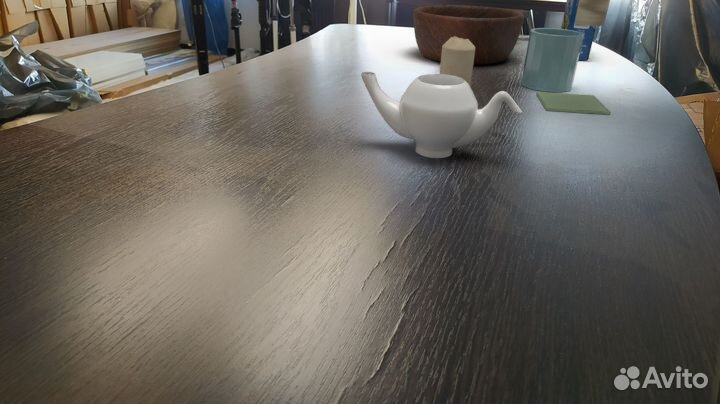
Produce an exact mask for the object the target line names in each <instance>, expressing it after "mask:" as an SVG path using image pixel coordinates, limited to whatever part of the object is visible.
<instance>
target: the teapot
mask: <svg viewBox="0 0 720 404" xmlns="http://www.w3.org/2000/svg"><path fill="white" fill-rule="evenodd" d="M360 75H361V79H362V82H363V84H364V86H365V88H366V90H367V92H368V95H369V96H370V98H371V100H372V102H373V104H374V106H375V108H376V110H377V112H378V113H379V115H380V116H381V118H382V119H383V121H385V123H386V124H387V125H388V126H389V127H390V129H391V130H392V131H394V132H395V133H396V134H397V135H398V136H400V137H402V138H405V139H409V140H413V141H414V143H415V152H416V153H417V154H418V155H420V156H422V157H425V158H430V159H445V158H448V157H451V155H453V150H454V149H457V148H463V147H465V146H468V145H470V144H472V143H474V142H476V141H478V140H480V138H482V137H483V136H484V135H485V134H486V133H487V132H488V131H489V130H490V129H491V128H492V126H493V125H494V124H495V122H496V121H497V119H498V117H499V114H500V111H501V107H502V104H503V102H504V103H506V105H507V107H508V108H509V109H510V110H511V112H513V113H518V114H522V113H523V111H522V110H521V108H520V107H519V105H518V104H517V103H516V101H515V100H514V99H513V97H512V96H511V95H510V94H509V93H508V92H507V91H505V90H499V91H498V92H496V93H495V94H494V95H493V96H492V97H491V99H490V100H489V101H488V102H487V104H486V105H485V106H483V107H482V108H479V103H478V100H477V98H476V96H475V94H474V91H473V89H472V86H471V87H470V85H469V84H468V83H467V82H466V81H465V80H464V79H462V78H460V77H457V76H453V75H446V74H440V73H427V74H422V75H419V76H417V77H416V78H414V79H413V80H412V81H411V82H410V83H409V85H408V86H407V88H406V89H405V91H404V92H403V93H402V95H401V97H400V98H399V100H396V99H394V98H392V97H391V96H389V95H388V94H387V93H386V92H385V91H384V90H383V89H382V88H381V86H380V84H379V81H378V78H377V75H376V72H373V71H363V72H361V74H360Z"/></svg>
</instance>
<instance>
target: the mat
mask: <svg viewBox="0 0 720 404" xmlns="http://www.w3.org/2000/svg"><path fill="white" fill-rule="evenodd" d="M535 95H536V97H537V98H538V99H539V101H540V103H541V105H542V106H543V107H544V109H545V111H548V112H560V113H561V112H562V113H578V114H590V115H591V114H592V115H593V114H594V115H608V116H609V115H611V110H609V109H608V107H606V106H605V105H604V104H603V103H602V101H600V99H598V98H597V97H596V96H595V95H594V94H578V93H564V92H545V91H536V94H535Z"/></svg>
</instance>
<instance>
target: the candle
mask: <svg viewBox="0 0 720 404" xmlns="http://www.w3.org/2000/svg"><path fill="white" fill-rule="evenodd" d="M474 55H475V46H474V45H473V44H472V43H471V42H470V41H469V39H463V38H458V37H456V36H454V37H451V38H450V39H449V40H448V41H447V42H446V43H445V44H444V45H443V46H442V55H441V61H440V65H439V74H446V75H453V76H457V77H460V78H462V79H464V80H465V81H466V82H467V83H468V84H469V85H470V87H471V88H472V77H473V71H474V70H473V69H474V65H473V63H474Z"/></svg>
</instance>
